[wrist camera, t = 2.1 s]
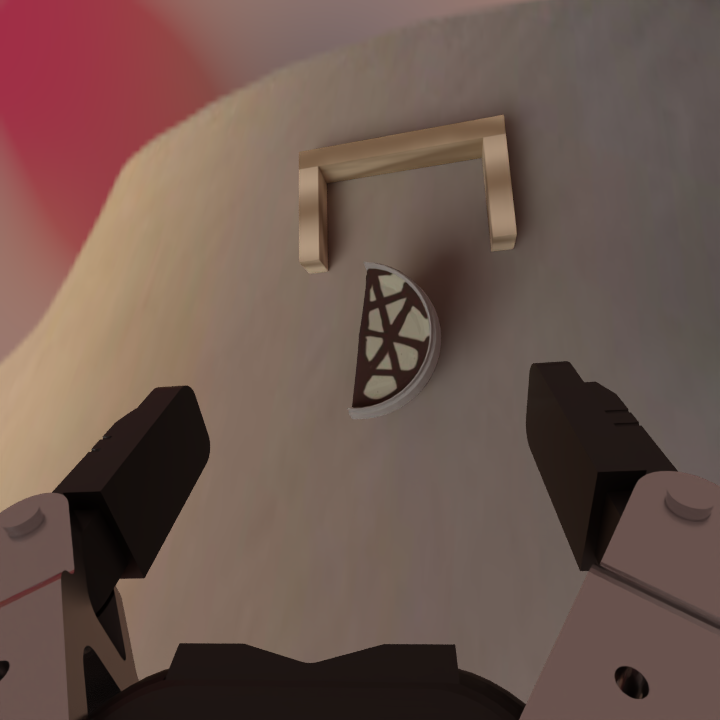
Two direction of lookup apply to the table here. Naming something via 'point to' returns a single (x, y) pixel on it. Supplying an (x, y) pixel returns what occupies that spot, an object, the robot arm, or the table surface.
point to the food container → (393, 343)
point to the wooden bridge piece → (402, 155)
